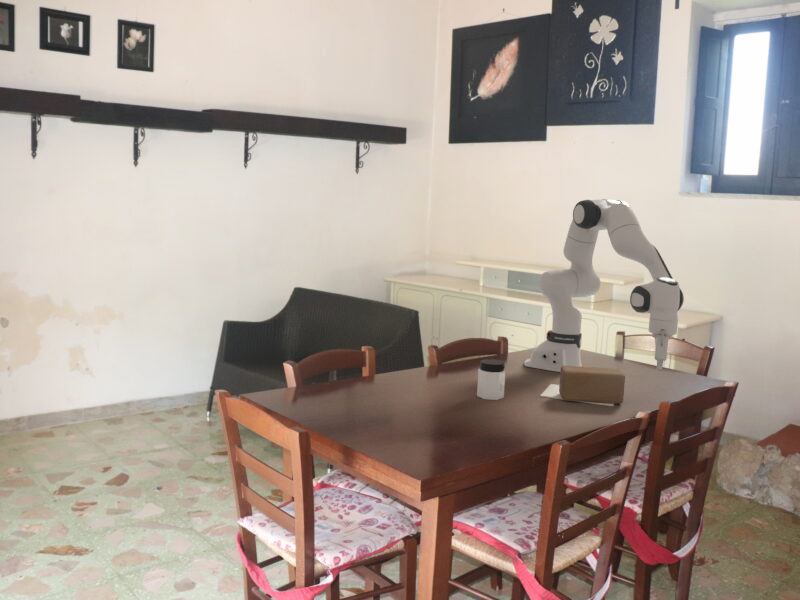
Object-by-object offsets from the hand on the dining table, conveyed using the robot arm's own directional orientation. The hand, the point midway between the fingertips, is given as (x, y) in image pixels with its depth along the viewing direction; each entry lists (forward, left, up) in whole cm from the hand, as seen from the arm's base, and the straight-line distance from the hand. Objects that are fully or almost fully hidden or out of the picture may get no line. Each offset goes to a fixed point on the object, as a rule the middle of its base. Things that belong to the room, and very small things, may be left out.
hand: (659, 368), depth 264 cm
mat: (-25, 0, -12) cm, 28 cm away
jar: (-52, -18, -13) cm, 56 cm away
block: (-11, -2, -7) cm, 13 cm away
